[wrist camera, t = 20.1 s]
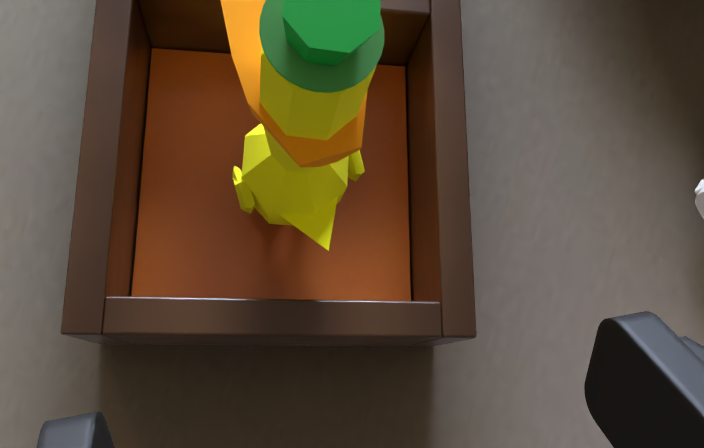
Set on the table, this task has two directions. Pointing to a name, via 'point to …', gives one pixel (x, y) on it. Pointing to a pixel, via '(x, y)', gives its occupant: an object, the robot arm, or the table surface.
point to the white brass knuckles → (700, 198)
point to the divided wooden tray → (252, 229)
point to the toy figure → (303, 103)
